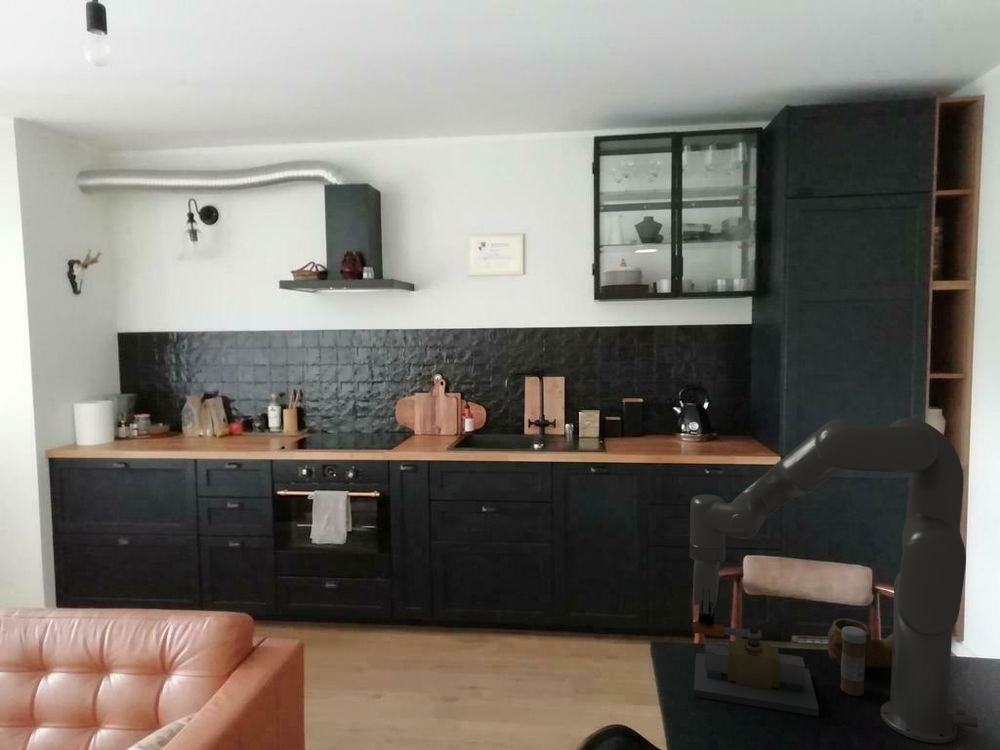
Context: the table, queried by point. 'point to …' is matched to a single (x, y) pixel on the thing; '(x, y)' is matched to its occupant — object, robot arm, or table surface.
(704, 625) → the lever
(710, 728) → the table surface
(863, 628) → the pipe
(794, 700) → the valve board
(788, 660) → the valve
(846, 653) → the sprinkles bottle
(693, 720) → the table surface
